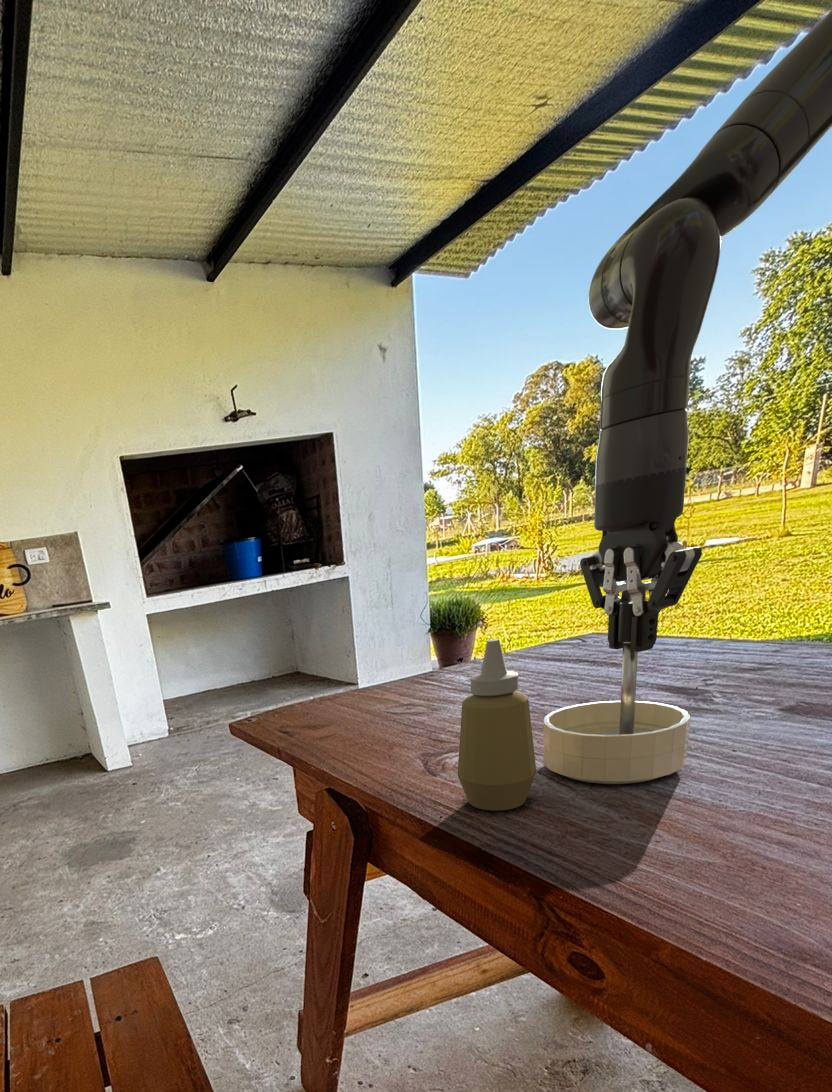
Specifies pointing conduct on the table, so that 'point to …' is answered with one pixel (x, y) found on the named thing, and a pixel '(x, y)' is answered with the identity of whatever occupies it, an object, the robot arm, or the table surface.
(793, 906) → the table surface
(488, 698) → the squeeze bottle
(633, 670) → the rod on round base
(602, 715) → the bowl
